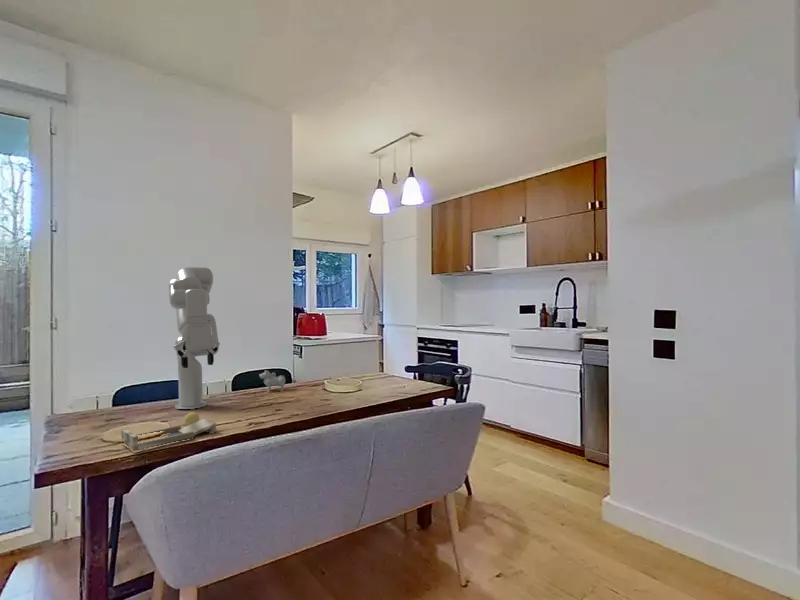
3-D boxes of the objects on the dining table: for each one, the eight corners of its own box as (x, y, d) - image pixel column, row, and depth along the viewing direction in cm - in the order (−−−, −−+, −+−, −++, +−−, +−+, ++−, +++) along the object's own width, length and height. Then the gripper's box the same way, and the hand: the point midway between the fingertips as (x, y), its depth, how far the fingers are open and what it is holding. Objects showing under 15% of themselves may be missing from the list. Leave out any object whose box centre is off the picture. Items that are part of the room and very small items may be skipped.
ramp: (205, 427, 172) (204, 418, 172) (216, 432, 166) (216, 423, 166) (177, 433, 165) (177, 424, 165) (187, 439, 159) (187, 429, 159)
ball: (182, 425, 175) (182, 412, 175) (196, 422, 179) (195, 410, 179) (188, 428, 172) (188, 414, 172) (201, 425, 175) (201, 412, 175)
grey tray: (121, 445, 154) (121, 430, 154) (179, 432, 167) (179, 418, 167) (134, 453, 145) (133, 437, 145) (194, 439, 159) (193, 424, 159)
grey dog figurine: (260, 390, 237) (259, 369, 237) (286, 389, 239) (285, 368, 239) (258, 392, 232) (258, 371, 232) (285, 391, 234) (284, 370, 234)
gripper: (214, 320, 187) (215, 363, 186) (169, 322, 174) (170, 368, 173) (223, 320, 182) (224, 364, 181) (177, 322, 169) (179, 369, 168)
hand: (198, 366), depth 177 cm, fingers open, 9 cm apart
